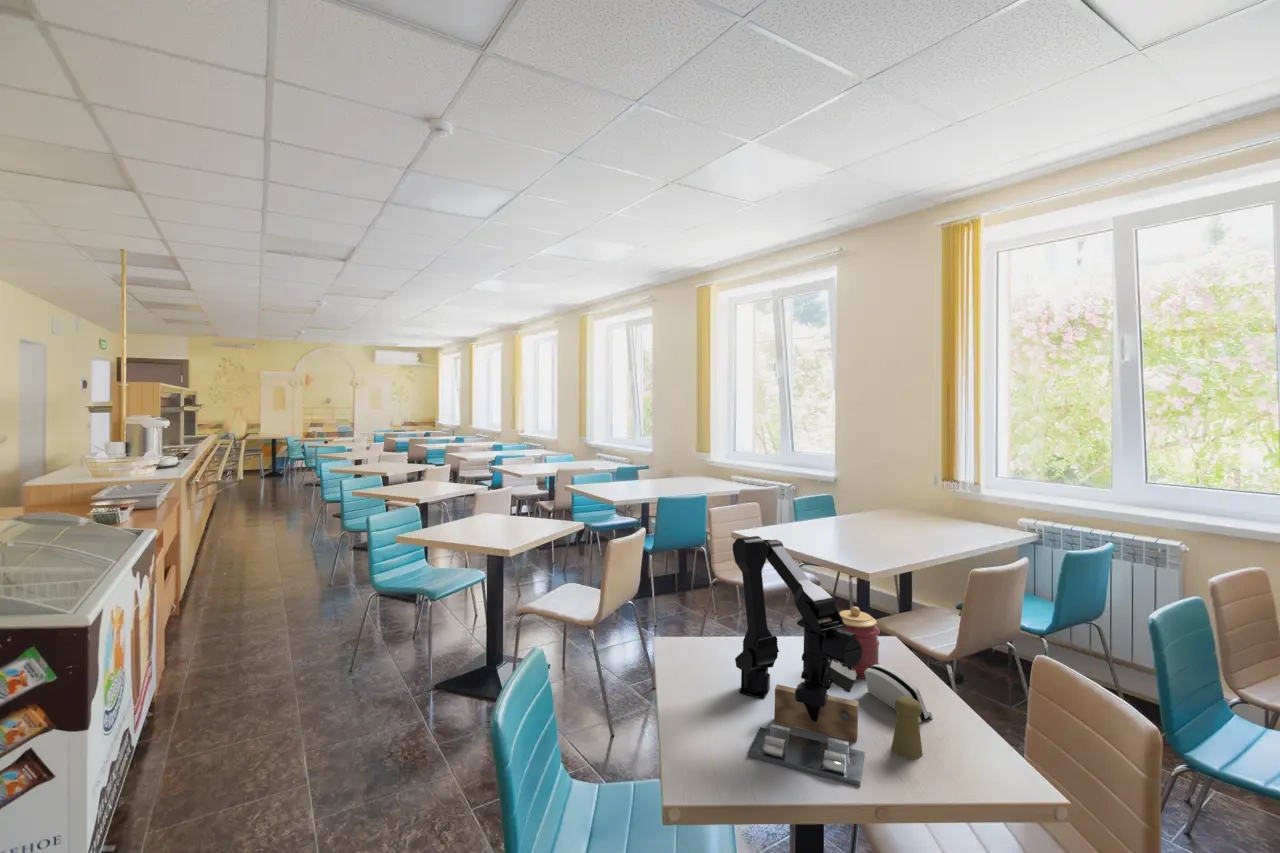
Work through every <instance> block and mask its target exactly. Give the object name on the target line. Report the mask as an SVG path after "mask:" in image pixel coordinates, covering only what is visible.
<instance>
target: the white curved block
mask: <svg viewBox="0 0 1280 853" xmlns="http://www.w3.org/2000/svg"><path fill="white" fill-rule="evenodd" d="M864 673H865V678H864V679H865V682H866V688H867V691H868V693H869V694H871V695H873V696H874V697H876V699H878V700H880V701H881V702H883V703H884V704H886V705H888V706H889V707H891V708H893V709H894V710H895V701H896V700H897V698H899V697H903V696H904V697H910V698H913V699H915V700H917V701H918V702H919V703H920V705H921V715H920V716H919V717H918V719H919V724H920V723H922V719H925V720H926V719H927V718H928V719H929V720H931V721H933V720H934V718H933V714H932V712H931V711H929V710H927V708H926V705H925V701H924V699H923V696H922V694H921V691H920V689H919V688H918V687H917V686H916V685H914V683H912V681H910V680H908V678H906V677H904V676H903V675H902V674H900V673H899V672H897V671H895V670H894V669H892V668H890V667H888V666H885V665H882V664H879V665H877V664H876V665H873V666H871V668H867V669H866V671H865V672H864Z"/></svg>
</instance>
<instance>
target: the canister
mask: <svg viewBox="0 0 1280 853" xmlns="http://www.w3.org/2000/svg"><path fill="white" fill-rule="evenodd" d="M839 614H840V616H841V617H842V620H843V622H844V624H845V628H841V629H842V630H844V631H847V632H852V633H854V634H855V635H856V640H857V641H859V643H860V644H861V648H862V656H861V659H860V661H859V663H858V664H857V665H856V666H854V667H853V671H854V670H855V672H856V674H857V676H856V679H857V678H858V679H866V678H865V673H864V672H865V671H866V669H867V668H871V666H873V665H876V664H877V665H880V663H879V656H880V655H879V651H880V650H879V646H880V641H879V638H878V637H879V636H878V635H879V634H880V632H881V630H880V628H879V627H878V626H877V620H876V619H875V618H874V617H873V616H871V615H870V614H869V613H867V612H864V611H861V610H860V608H859V607H858V606H852V607H850V609H846V610H841V611H839ZM832 661H835V662H837V663H838V661H836V660H834V659H832Z"/></svg>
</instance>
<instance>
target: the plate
mask: <svg viewBox="0 0 1280 853" xmlns="http://www.w3.org/2000/svg"><path fill="white" fill-rule="evenodd" d="M770 724H771V725H770V728H767V727H763V726H760V727H759V729H758V731H757V732H756V735H755V737H754V739H753V741H752V742H751V744H750V746H749V749H748V751H747V758H750V759H751V758H752V759H755V760H758V761H762V762H765V763H770V764H774V765H778V766H781V767H785V768H789V769H793V770H795V771H800V772H804V773H807V774H811V775H815V776H818V777H822V778H827V779H831V780H833V781H834V780H835V781H839V782H842V783H846V784H850V785H853V786H857V787H861V783H862V778H863V777H862V776H863V770H864V765H865V757H866V756H865V754H866V752H865V751H863V750H859V749H854V748H850V747H849V744H850V743H849V741H845V740H842V739H838V738H837V739H836V738H833V737H828V738H827V742H826V741H821V740H816V739H812V738H809V737H805V736H800V735H796V734H791V728H790V727H786V726H781V725H778V724H773V723H770Z"/></svg>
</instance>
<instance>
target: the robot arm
mask: <svg viewBox="0 0 1280 853" xmlns="http://www.w3.org/2000/svg"><path fill="white" fill-rule="evenodd" d="M732 554H733V557H734V563H735V565H736V566H737V567H738V568H739V570H740V571H741V572H742V573H741V574H742V585H743V592H744V593H743V594H744V595H743V596H744V602H745V604H744V605H745V612H746V622H747V630H746V632H745V635H744V638H743V640H742V652H741V653H739V654H738V655H737V656H736V657H735V658H734V661H735V667H736V668H738V669H739V670H740V673H741V674H740V676H741V677H740V678H741V679H740V682H741V683H740V689H739V690H738V693H739V694H741V695H747V696H751V697H755V698H761V699H765V698H766V695H768V693H769V692H770V689H771V685H770V684H771V674H770V673H769V669H770V668H774V665H775V662H776V661H777V659H778V654H779V653H780V650H779V646H778V637H777V636H776V635H773V634H772V633H771V630H769V628H768V620H767V611H766V610H767V609H766V602H765V591H764V581H763V574H762V573H763V569H764V566H765V564H766V561H768V562H769V563H770V565H771V566H772V568H773V569H774V570H775V571H776V573H777V574H778V576H779V577H780V578H781V580H782V581H783V582H784V583H785V585H786V586H787V587H788V589H789V590H790V592H791V593H792V595H793V600H794V605H795V607H796V609H797V611H798V613H799V614H800V616H801V618H800V619H799V620H798V621H796V625H798V626H800V627H802V628H803V653H802V654H801V661H802V662H803V663H802V666H803V667H802V672H801V679H803V680H804V681H802V682H800V683H799V684H798V685H797V687H795V688H796V691H795V700H796V701H797V702H801V703H804V704H805V706H806V708H807V711H808V713H809V715H810V718H811V720H812V721H814V722H817V719H818V714H819V709H820V707H824V706H825V704H826V700H827V698H828V695H829V694H828V691H829V689H831V687H832V684H833V685H836V686H837V687H838V688H841V689H842V690H843V691H844V692H847V693H851V691H852V689H853V686H854V684H855V682H856V679H857V678H856V676H857V674H856V672H855V670H854V671H853V667H854V666H856V665H857V664H858V663H859V661H860V659H861V656H862V648H861V644H860V643H859V641H857V640H856V635H855V634H854V633H852V632H847V631H844V630H842V629H841V628H845V624H844V622H843V620H842V617H841V616H840V614H839V613H840V611H839V610H838V607H837V606H836V602H835V600H834V598H833V596H831V594H829V593H828V592H827V591H826V590H825V589H824V588H823V587H821V586H819V585H817V584H815V583H814V582H812V580H810V579H809V578H808V576H807V575H806V574H805V572H803V570H802V569H801V567H800V566H799V565H798V564H797V563H796V562H795V560H794V559H793V558H792V557H791V555H790V554H789V553H788V551H787V550H786V549H785V547H784V544H783V542H782V541H781V540H779V539H763V538H762V537H761V536H759V535H755V536H753V535H751V536H746V537H738V538H736V539H735V540H734V542H733V543H732ZM829 619H830V620H829ZM826 620H829V621H826ZM821 621H825V622H821ZM832 659H834V660H836V661H838V663H837V662H835V661H832Z"/></svg>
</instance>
